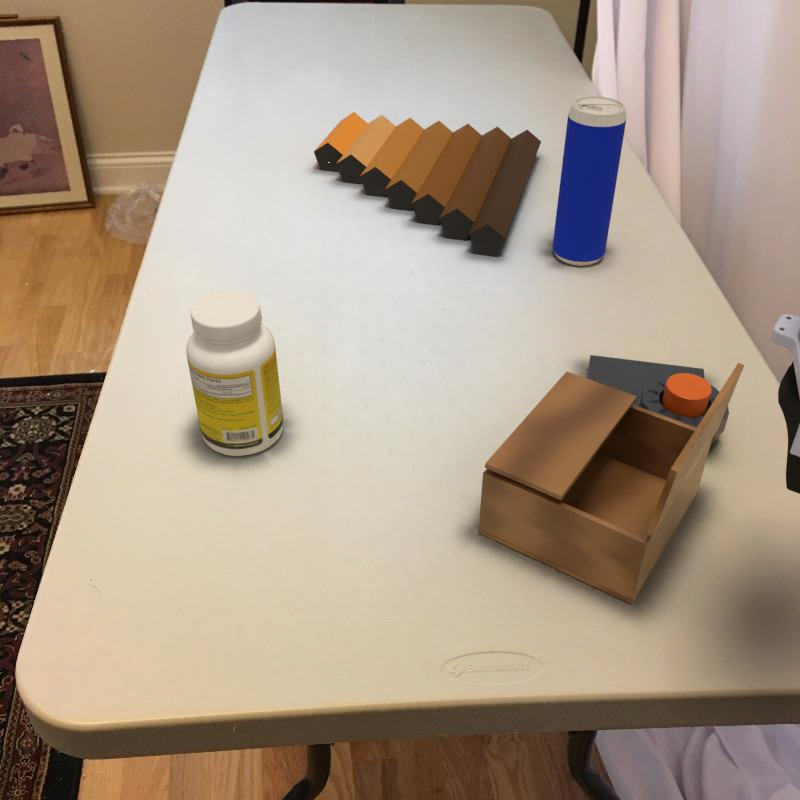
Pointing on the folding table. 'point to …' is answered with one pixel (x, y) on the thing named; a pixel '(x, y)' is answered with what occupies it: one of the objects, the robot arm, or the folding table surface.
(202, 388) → the pill bottle
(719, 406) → the flap
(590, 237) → the beverage can
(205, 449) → the folding table surface
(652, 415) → the carton
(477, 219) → the pan flute
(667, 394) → the button
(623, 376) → the control box
